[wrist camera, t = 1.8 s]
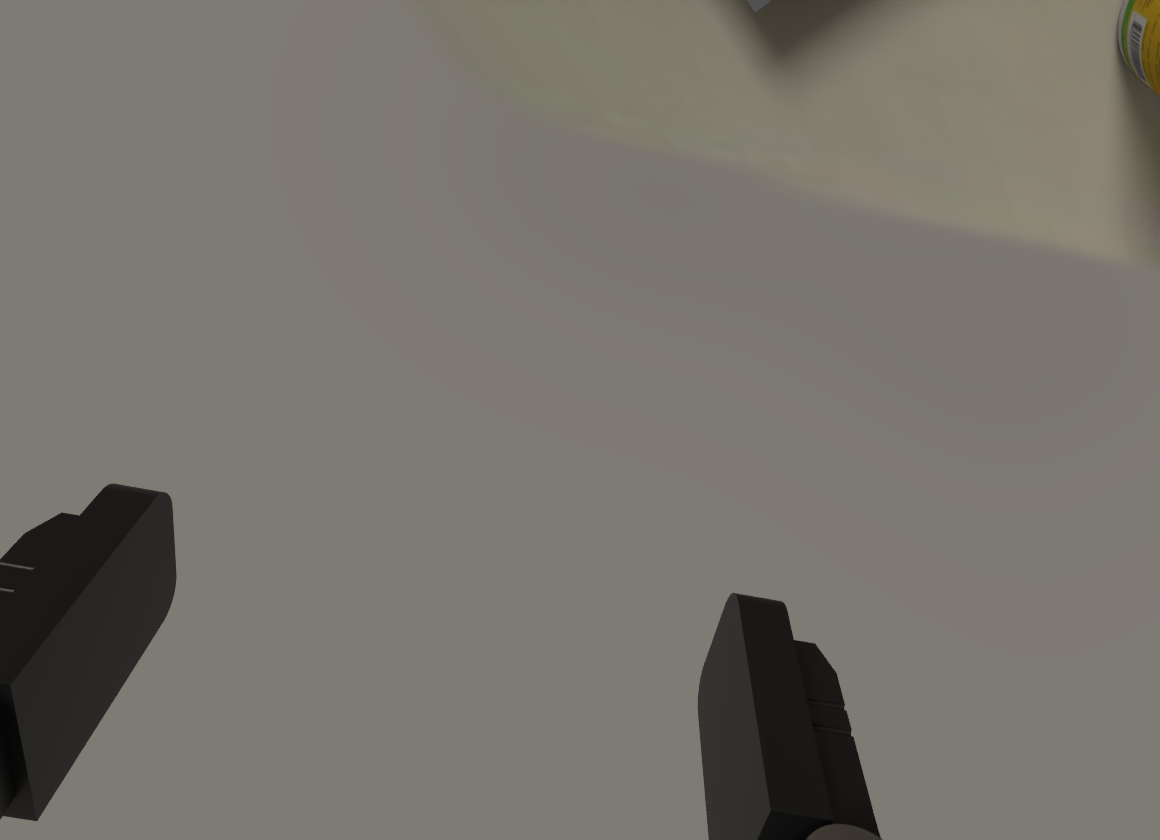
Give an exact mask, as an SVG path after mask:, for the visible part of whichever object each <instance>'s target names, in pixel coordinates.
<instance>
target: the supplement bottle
mask: <svg viewBox="0 0 1160 840" xmlns="http://www.w3.org/2000/svg"><path fill="white" fill-rule="evenodd" d="M1118 41H1119V47H1120V51H1121V53H1122V56H1123V58H1124V60H1125V62H1126V64H1127V65H1128V67H1129V68H1130V69H1131V71H1132V72H1133V73H1134V74H1135V75H1136V76H1137V77H1138V78H1139V79H1140V80H1141V81H1142V82H1144V83H1145V84H1146V85H1147V86H1148V87H1149V88H1151V89H1152V90H1153V91H1154V92H1155V93H1157V94H1158V95H1159V96H1160V0H1124V2H1123V5H1122V8H1121V12H1120V17H1119V23H1118Z"/></svg>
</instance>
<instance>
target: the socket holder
mask: <svg viewBox="0 0 1160 840" xmlns="http://www.w3.org/2000/svg"><path fill="white" fill-rule="evenodd" d="M747 1H748V3H749V5H750V6H751V8H752V9H753V11H754V12H757V11H758V10H759V9H761V8H762V7H763V6H765V5H766V4H767V3H769V2H770V1H771V0H747Z"/></svg>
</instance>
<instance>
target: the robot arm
mask: <svg viewBox="0 0 1160 840" xmlns="http://www.w3.org/2000/svg"><path fill="white" fill-rule="evenodd" d="M175 586H176V561H175V543H174V526H173V510H172V501H171V498H170V496H169V495H168V494H167V493H164V492H158V491H153V490H147V489H142V488H136V487H130V486H124V485H118V484H109V485H107V486H106V487H105V488H104V489H103V490H102V491H101V492H100V493H99V494H98V495H97V496H96V498H95V499H94V500H93V501H92V502H91V503H90V504H89V505H88V507H87V508H86V509H85V510H84V511H83V513H81V515H80V516H78V515H73V514H67V513H61V514H59V515H57V516H55V517H53V518H51V519H50V520H48V521H46V522H44V523H42V524H41V525H39V526H37V527H35V528H34V529H32V530H30V531H28V532H26V533H25V534H24V535H23V536H22V537H21V538H20V539H19V540H18V541H17V542H16V543H15V544H14V545H13V546H12V547H11V548H10V550H9V551H8V552H7V553H6V554H5V555H4V556H3V557H2V558H1V559H0V819H1V818H2V816H7V817H14V818H20V819H27V820H33V821H37V820H38V819H39V817H40V816H41V814H42V812H43V811H44V809H45V808H46V806H47V805H48V803H49V801H50V800H51V798H52V797H53V795H54V793H55V792H56V790H57V788H58V787H59V786H60V784H61V782H62V781H63V779H64V778H65V776H66V775H67V773H68V771H69V770H70V768H71V767H72V765H73V763H74V762H75V760H76V758H77V757H78V755H79V754H80V752H81V751H82V749H83V748H84V746H85V745H86V743H87V741H88V740H89V738H90V736H91V735H92V733H93V732H94V730H95V729H96V727H97V726H98V724H99V722H100V721H101V719H102V717H103V716H104V714H105V713H106V711H107V710H108V708H109V707H110V705H111V703H112V702H113V700H114V699H115V697H116V696H117V694H118V692H119V691H120V689H121V687H122V686H123V685H124V682H125V681H126V680H127V678H128V677H129V675H130V673H131V672H132V670H133V669H134V667H135V666H136V664H137V662H138V661H139V659H140V657H141V656H142V654H143V653H144V651H145V650H146V648H147V647H148V645H149V643H150V642H151V640H152V638H153V637H154V636H155V634H156V632H157V631H158V629H159V628H160V626H161V624H162V623H163V621H164V619H165V618H166V615H167V613H168V611H169V608H170V606H171V603H172V600H173V596H174V592H175ZM844 705H845V704H844V700H843V696H842V692H841V688H840V685H839V681H838V677H837V674H836V672H835V671H834V669H833V668H832V667H831V665H830V664H829V662H828V661H827V659H826V658H825V657H824V655H823V654H822V653H821V651H820V650H819V649H818V647H817V646H816V644H813V643H808V642H802V641H796V640H793V635H792V630H791V626H790V621H789V617H788V612H787V609H786V606H785V604H784V603H783V602H781V601H776V600H771V599H765V598H759V597H753V596H748V595H741V594H736V593H732V594H731V595H730V596H729V598H728V600H727V602H726V604H725V607H724V610H723V613H722V616H721V618H720V621H719V624H718V627H717V630H716V633H715V635H714V638H713V641H712V644H711V647H710V649H709V652H708V655H707V658H706V661H705V663H704V666H703V670H702V674H701V679H700V685H699V693H698V716H699V717H698V718H699V729H700V740H701V753H702V764H703V776H704V788H705V800H706V811H707V823H708V835H709V840H882V839H881V837H880V834H879V831H878V828H877V824H876V820H875V817H874V813H873V809H872V806H871V801H870V798H869V794H868V790H867V786H866V783H865V779H864V775H863V771H862V768H861V764H860V760H859V756H858V752H857V749H856V745H855V741H854V737H852V736H851V726H850V722H849V719H848V715H847V711H845V710H844Z"/></svg>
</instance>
